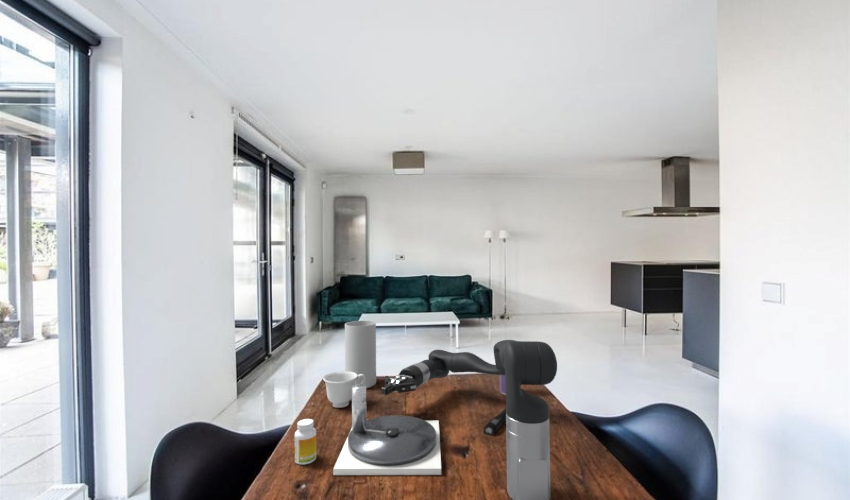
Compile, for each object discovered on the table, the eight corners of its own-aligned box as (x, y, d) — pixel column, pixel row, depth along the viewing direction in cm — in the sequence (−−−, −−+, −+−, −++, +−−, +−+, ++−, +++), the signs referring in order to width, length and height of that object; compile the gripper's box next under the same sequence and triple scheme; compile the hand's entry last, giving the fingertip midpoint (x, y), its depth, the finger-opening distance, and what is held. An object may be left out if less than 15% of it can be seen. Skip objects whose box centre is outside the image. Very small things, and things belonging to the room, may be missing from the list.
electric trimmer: (513, 418, 121) (513, 408, 121) (494, 437, 108) (494, 426, 108) (502, 415, 123) (502, 406, 123) (482, 434, 110) (482, 423, 110)
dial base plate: (441, 474, 89) (441, 467, 89) (333, 475, 90) (333, 467, 90) (438, 425, 115) (438, 419, 115) (354, 425, 116) (354, 419, 116)
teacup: (369, 407, 130) (369, 378, 130) (325, 414, 124) (325, 384, 125) (362, 395, 141) (361, 368, 141) (321, 401, 136) (321, 373, 136)
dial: (454, 445, 100) (453, 393, 100) (374, 477, 86) (373, 416, 86) (405, 415, 119) (405, 371, 119) (334, 437, 105) (333, 387, 105)
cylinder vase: (343, 381, 157) (343, 321, 157) (373, 378, 161) (373, 319, 161) (346, 391, 145) (346, 327, 145) (378, 387, 149) (378, 325, 149)
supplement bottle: (320, 457, 98) (320, 420, 98) (304, 467, 93) (304, 428, 93) (306, 452, 100) (306, 415, 101) (290, 461, 96) (290, 423, 96)
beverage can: (497, 394, 141) (497, 354, 141) (502, 388, 146) (501, 350, 146) (513, 396, 138) (513, 356, 138) (517, 391, 143) (517, 352, 143)
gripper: (431, 390, 126) (400, 408, 111) (399, 383, 133) (367, 399, 119) (430, 368, 126) (400, 383, 112) (399, 362, 133) (367, 375, 119)
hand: (383, 391), depth 115 cm, fingers closed
